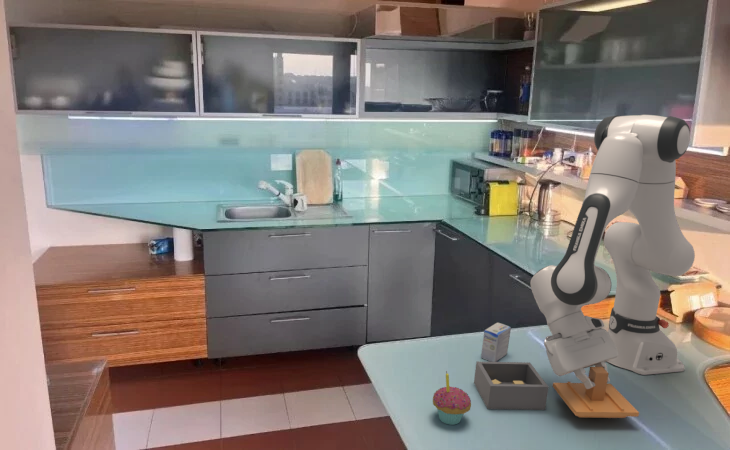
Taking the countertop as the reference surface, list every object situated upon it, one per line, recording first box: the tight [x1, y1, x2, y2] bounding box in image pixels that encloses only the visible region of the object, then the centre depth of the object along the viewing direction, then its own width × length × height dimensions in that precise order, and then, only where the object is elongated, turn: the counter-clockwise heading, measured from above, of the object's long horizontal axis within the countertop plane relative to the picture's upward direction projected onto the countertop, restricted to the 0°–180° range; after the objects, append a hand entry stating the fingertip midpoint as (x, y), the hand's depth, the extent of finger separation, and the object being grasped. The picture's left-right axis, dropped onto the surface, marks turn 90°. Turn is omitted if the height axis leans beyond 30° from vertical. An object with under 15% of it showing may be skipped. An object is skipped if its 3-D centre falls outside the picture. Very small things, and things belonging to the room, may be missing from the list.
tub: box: [473, 361, 549, 411], centre depth 139 cm, size 14×12×6 cm
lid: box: [552, 366, 640, 419], centre depth 133 cm, size 15×13×10 cm
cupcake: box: [432, 370, 472, 426], centre depth 127 cm, size 9×8×12 cm
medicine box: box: [480, 322, 512, 362], centre depth 160 cm, size 8×4×9 cm, turn 141°
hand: (598, 385), depth 133 cm, fingers closed on lid, 4 cm apart
